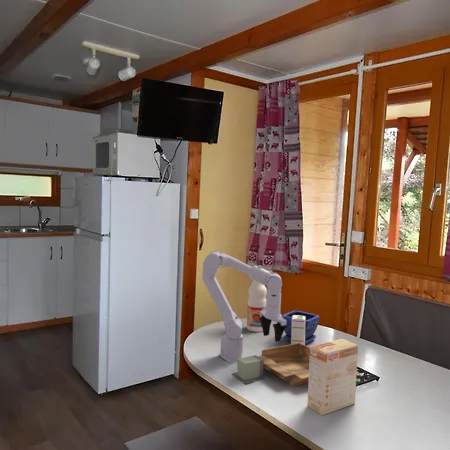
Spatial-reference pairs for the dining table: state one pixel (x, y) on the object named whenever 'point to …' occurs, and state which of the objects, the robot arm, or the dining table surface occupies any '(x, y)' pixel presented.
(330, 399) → the coffeecake box
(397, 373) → the dining table surface
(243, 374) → the capped block
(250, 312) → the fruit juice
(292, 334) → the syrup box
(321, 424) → the dining table surface
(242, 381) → the mat
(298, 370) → the wooden tray
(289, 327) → the flower pot
